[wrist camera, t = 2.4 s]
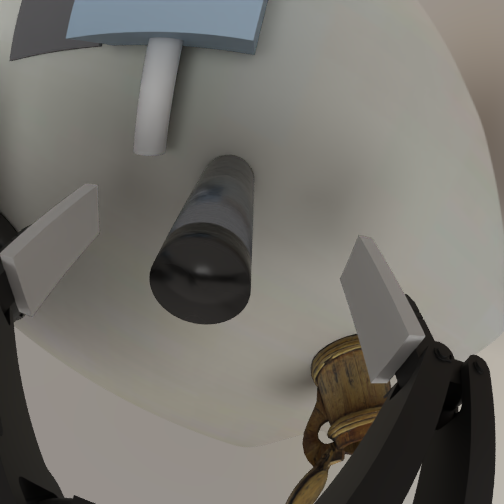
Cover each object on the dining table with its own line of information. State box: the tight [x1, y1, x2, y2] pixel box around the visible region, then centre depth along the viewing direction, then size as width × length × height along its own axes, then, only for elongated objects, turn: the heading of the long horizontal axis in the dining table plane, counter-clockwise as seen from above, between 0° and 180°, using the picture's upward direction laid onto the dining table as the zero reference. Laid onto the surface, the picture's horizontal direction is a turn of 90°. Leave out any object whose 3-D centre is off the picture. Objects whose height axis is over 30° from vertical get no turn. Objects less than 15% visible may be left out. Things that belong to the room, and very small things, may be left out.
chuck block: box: [66, 0, 268, 156], centre depth 12 cm, size 10×17×6 cm, turn 168°
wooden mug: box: [286, 335, 391, 504], centre depth 24 cm, size 9×14×18 cm, turn 118°
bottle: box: [150, 155, 254, 324], centre depth 15 cm, size 4×4×12 cm
